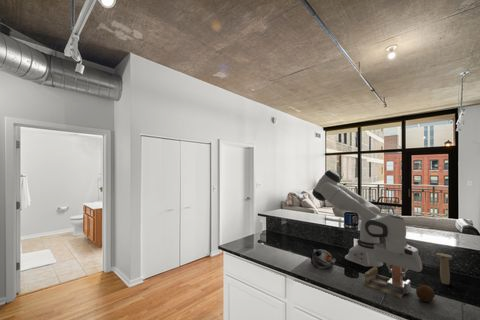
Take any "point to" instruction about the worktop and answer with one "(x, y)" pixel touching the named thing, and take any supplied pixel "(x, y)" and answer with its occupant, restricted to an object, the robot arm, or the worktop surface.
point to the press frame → (381, 283)
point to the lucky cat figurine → (322, 259)
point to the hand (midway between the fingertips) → (397, 274)
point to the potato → (425, 293)
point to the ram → (399, 280)
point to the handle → (444, 267)
